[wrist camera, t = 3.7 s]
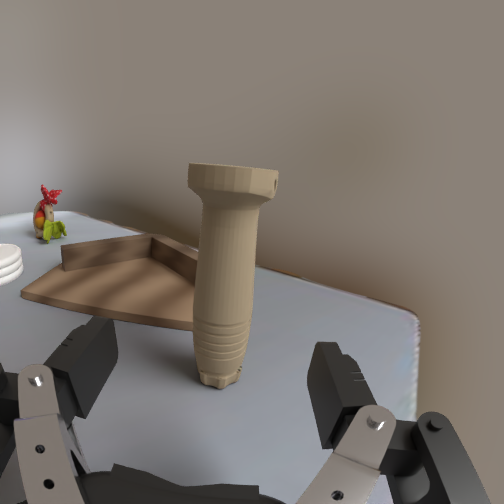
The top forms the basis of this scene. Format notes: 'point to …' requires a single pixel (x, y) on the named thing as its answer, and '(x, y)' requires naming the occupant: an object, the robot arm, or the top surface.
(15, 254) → the white round disc stack
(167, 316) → the v block
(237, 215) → the handle
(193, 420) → the top surface
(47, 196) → the bird rattle
